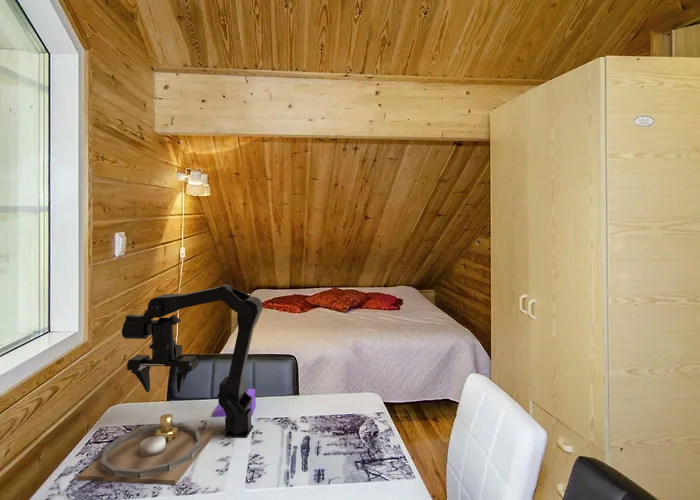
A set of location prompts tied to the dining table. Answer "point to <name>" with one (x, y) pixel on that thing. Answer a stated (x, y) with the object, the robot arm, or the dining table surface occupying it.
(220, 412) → the bracket
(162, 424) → the gear
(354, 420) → the dining table surface
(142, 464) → the carrier
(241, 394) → the robot arm
